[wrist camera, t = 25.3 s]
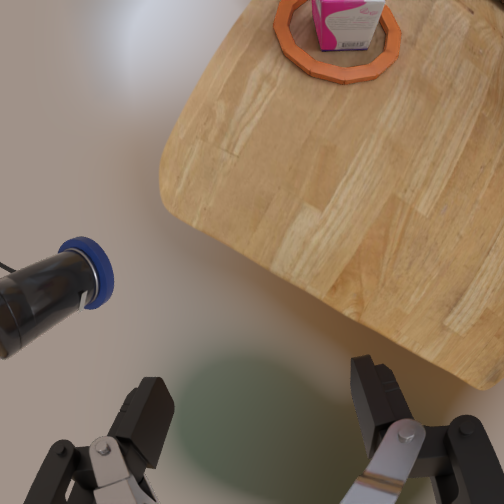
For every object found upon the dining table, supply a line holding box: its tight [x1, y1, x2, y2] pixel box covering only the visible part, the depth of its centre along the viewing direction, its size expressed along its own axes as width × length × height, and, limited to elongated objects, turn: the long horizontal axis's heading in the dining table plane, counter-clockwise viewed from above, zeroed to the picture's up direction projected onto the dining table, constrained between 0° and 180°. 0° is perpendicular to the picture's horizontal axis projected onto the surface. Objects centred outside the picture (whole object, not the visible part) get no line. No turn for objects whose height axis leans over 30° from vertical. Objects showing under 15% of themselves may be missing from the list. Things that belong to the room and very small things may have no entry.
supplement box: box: [312, 0, 385, 51], centre depth 21 cm, size 6×6×12 cm
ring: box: [273, 0, 402, 85], centre depth 25 cm, size 15×15×2 cm
